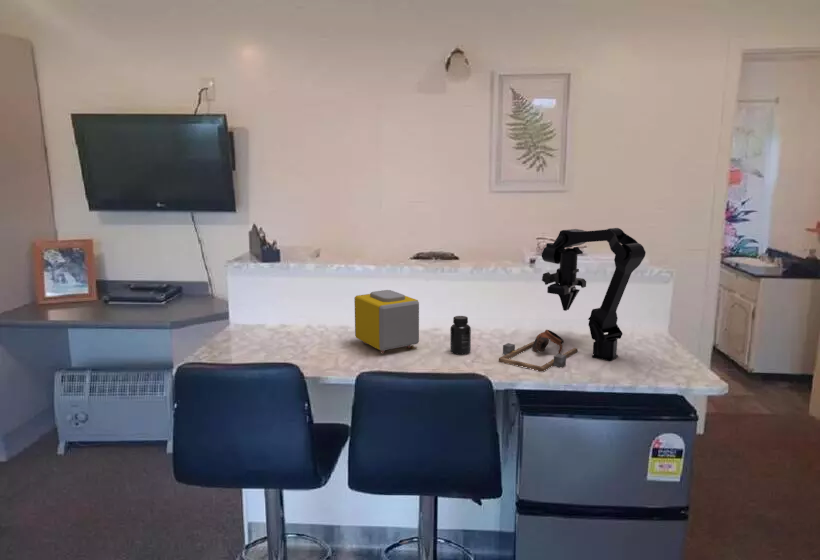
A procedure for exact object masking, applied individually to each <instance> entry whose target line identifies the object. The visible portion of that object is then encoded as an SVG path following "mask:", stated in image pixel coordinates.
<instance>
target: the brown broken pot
mask: <svg viewBox="0 0 820 560" xmlns="http://www.w3.org/2000/svg"><path fill="white" fill-rule="evenodd" d="M533 341H534V344H533V347H532V348H531V350H532V351H533V352H534V353H535V352H536V353H537V352H539V353H544V352H545V350H546V348H547V346H548V345H549V343H550V342H552V343H553V344H555V345H557V346H558V347H559V349H558V351H557V354H561V353H562V351H563V348H564V343H565V341H564V339H563V338H562V337H561V336H560V335H559V334H557V333H555V332H554V331H553V330H550V329H545V331H544V332H540V333H539V334H538V335H537V336H536V337H535V339H534V340H533Z"/></svg>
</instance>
